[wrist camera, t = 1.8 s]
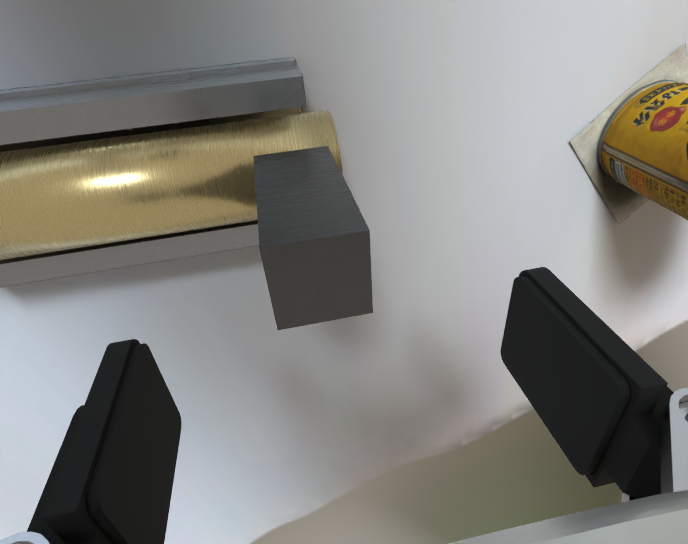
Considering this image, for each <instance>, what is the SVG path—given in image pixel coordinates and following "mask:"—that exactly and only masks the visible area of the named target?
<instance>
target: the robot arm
mask: <svg viewBox="0 0 688 544" xmlns="http://www.w3.org/2000/svg"><path fill="white" fill-rule="evenodd" d="M501 357H502V360H503V362H504V364H505V366H506V367H507V369H508V370H509V372H510V373H511V375H512V376H513V378H514V379H515V381H516V382H517V383H518V385H519V386H520V388H521V389H522V391H523V392H524V394H525V395H526V397H527V398H528V400H529V401H530V403H531V404H532V406H533V407H534V409H535V410H536V412H537V413H538V415H539V416H540V418H541V419H542V421H543V422H544V424H545V425H546V427H547V428H548V430H549V431H550V433H551V434H552V436H553V437H554V439H555V440H556V442H557V443H558V444H559V446H560V448H561V449H562V450H563V452H564V453H565V455H566V456H567V458H568V459H569V461H570V462H571V464H572V465H573V467H574V468H575V470H576V471H577V472H578V473H579V474H581V475H586V477H587V478H588V480H589V481H590V483H591V484H592V486H593V487H597V486H602V485H606V484H610V483H614V482H615V483H616V484H617V485H618V487H619V488H620V489H621V491H622V492H623V496H622V503H617V504H613V505H608V506H603V507H599V508H594V509H590V510H586V511H581V512H577V513H573V514H569V515H565V516H560V517H557V518H552V519H548V520H544V521H540V522H536V523H532V524H527V525H523V526H519V527H515V528H510V529H506V530H502V531H498V532H494V533H490V534H485V535H481V536H477V537H473V538H469V539H465V540H461V541H457V542H453V543H449V544H688V388H684V389H680V390H677V391H676V392H675V393H673V392H672V391H671V390H670V389H669V388H668V387H667V384H668V383H667V382H666V381H665V380H664V379H663V378H662V377H661V376H660V375H659V374H657V373H656V372H655V371H654V370H653V369H652V368H651V367H650V366H649V365H648V364H647V363H646V362H645V361H644V360H643V359H642V358H641V357H640V356H639V355H637V353H636V352H634V351H633V350H632V349H631V348H630V347H629V346H628V345H627V344H626V343H625V342H624V341H623V340H622V339H621V338H620V337H619V336H618V335H617V334H616V333H615V332H614V331H613V330H611V329H610V328H609V327H608V326H607V325H606V324H605V323H604V322H603V321H602V320H601V319H600V318H599V317H598V316H597V315H596V314H595V313H594V312H593V311H592V310H591V309H589V308H588V307H587V306H586V305H585V304H584V303H583V302H582V301H581V300H580V299H579V298H578V297H577V296H576V295H575V294H574V293H573V292H572V291H571V290H570V289H569V288H568V287H566V286H565V285H564V284H563V283H562V282H561V281H560V280H559V279H558V278H557V277H556V276H555V275H554V274H553V273H552V272H551V271H550V270H549V269H547V268H545V267H541V268H535V269H530V270H524V271H522V272H521V273H520V274H519V277H517V278H515V279H514V282H513V288H512V293H511V298H510V303H509V309H508V314H507V319H506V325H505V330H504V335H503V341H502V346H501ZM180 433H181V417H180V413H179V411H178V409H177V407H176V405H175V402H174V400H173V398H172V396H171V394H170V392H169V390H168V387H167V385H166V383H165V381H164V379H163V377H162V375H161V372H160V370H159V368H158V366H157V364H156V362H155V360H154V357H153V355H152V353H151V351H150V349H149V347H148V345H147V344H140V343H139V341H138V340H136V339H132V340H127V341H121V342H115V343H110V344H109V345H108V347H107V348H106V351H105V353H104V356H103V359H102V361H101V364H100V366H99V369H98V372H97V374H96V377H95V379H94V382H93V385H92V387H91V390H90V392H89V395H88V398H87V400H86V403H85V405H83V406H80V407H79V408H78V409H77V410H76V412H75V414H74V416H73V418H72V421H71V423H70V426H69V428H68V431H67V433H66V436H65V438H64V441H63V443H62V446H61V448H60V450H59V453H58V455H57V458H56V460H55V463H54V465H53V468H52V470H51V473H50V475H49V478H48V480H47V483H46V485H45V488H44V490H43V493H42V495H41V498H40V500H39V503H38V505H37V508H36V510H35V513H34V515H33V518H32V520H31V523H30V525H29V528H28V530H27V532H23V533H17V534H15V535H12V536H10V537H7V538H5V539H3V540H1V541H0V544H164V540H165V533H166V527H167V520H168V513H169V507H170V500H171V493H172V486H173V480H174V473H175V466H176V460H177V453H178V446H179V440H180Z"/></svg>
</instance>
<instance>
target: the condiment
mask: <svg viewBox="0 0 688 544" xmlns="http://www.w3.org/2000/svg"><path fill="white" fill-rule="evenodd" d="M685 46H686V44H683V45H682V46H681V47H679V48H678V49H677V50H676V51H675V52H673V53H672V54H671V55H670V56H669V57H668V58H667V59H665V60H663V61H662V62H661V63H660V64H659V65H658V66H657V67H655V68H654V69H652V70H651V71H650V72H649V73H648V74H646V75H645V76H644V77H643V78H641V79H640V80H639V81H638V82H637V83H636V84H634V85H633V86H632V87H631V88H629V89H628V90H627V91H626V92H625V93H624V94H623V95H622V96H620V97H619V98H618V99H617V100H616V101H614V102H613V103H612V104H611V105H610V106H609V107H607V108H606V109H605V110H604V111H603V112H602V113H601V114H600V115H599V116H598V117H596V118H595V119H594V121H593V122H592V123H590V124H589V125H588V126H587V127H586V128H584V129H583V130H582V131H581V132H580V133H579V134H577V135H576V136H575V137H574V138H572V139H571V140H570V143H571V144H572V146H573V148H574V150H575V151H576V153H577V155H578V157H579V159H580V160H581V162H582V164H583V165H584V167H585V169H586V171H587V173H588V174H589V176H590V177H591V179H592V181H593V182H594V184H595V185H596V187H597V189H598V190H599V191H600V193H601V195H602V197H603V199H604V200H605V202H606V204H607V206H608V208H609V209H610V211H611V212H612V213H613V215H614V217H615V219H616V220H617V222H618V224H620V223H621V222H622V221H623V220H624V219H626V218H627V217H628V216H629V215H630V213H631V212H633V211H634V210H636V209H637V208H638V207H639V206H641V205H642V204H643V203H645V202H646V201H647V200H648V199H651V200H653V201H654V202H656V203H658V204H659V205H661V206H663V207H665V208H667V209H669V210H671V211H673V212H674V213H676V214H678V215H680V216H682V217H683V218H685V219H686V220H688V55H687V52H686V47H685ZM616 181H618V182H616Z"/></svg>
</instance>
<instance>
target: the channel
mask: <svg viewBox="0 0 688 544" xmlns="http://www.w3.org/2000/svg"><path fill="white" fill-rule="evenodd" d="M305 106H306V100H305V91H304V83H303V76H302V74H301V72H300V70H299V69H298V67H297V65H296V60H295V58H294V57H292V58H283V59H274V60H265V61H256V62H248V63H239V64H230V65H221V66H212V67H203V68H194V69H186V70H177V71H168V72H159V73H150V74H141V75H132V76H124V77H115V78H106V79H97V80H88V81H79V82H70V83H61V84H53V85H44V86H35V87H26V88H17V89H8V90H0V152H4V151H12V150H20V149H28V148H36V147H43V146H51V145H59V144H67V143H75V142H82V141H90V140H98V139H106V138H114V137H121V136H129V135H137V134H145V133H153V132H160V131H168V130H176V129H184V128H192V127H199V126H207V125H215V124H223V123H231V122H238V121H246V120H254V119H262V118H269V117H277V116H285V115H293V114H301V113H302V107H305ZM258 245H259V232H258V220H254V221H248V222H241V223H235V224H228V225H222V226H215V227H209V228H203V229H196V230H190V231H183V232H177V233H170V234H164V235H158V236H151V237H145V238H138V239H132V240H125V241H119V242H113V243H106V244H100V245H93V246H87V247H80V248H74V249H67V250H61V251H55V252H48V253H42V254H35V255H29V256H22V257H16V258H10V259H3V260H0V287H5V286H11V285H18V284H24V283H30V282H36V281H42V280H48V279H54V278H61V277H67V276H73V275H79V274H85V273H91V272H98V271H104V270H110V269H116V268H122V267H128V266H135V265H141V264H147V263H153V262H159V261H165V260H172V259H178V258H184V257H190V256H196V255H202V254H209V253H215V252H221V251H227V250H233V249H239V248H246V247H252V246H258Z"/></svg>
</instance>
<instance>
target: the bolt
mask: <svg viewBox="0 0 688 544" xmlns="http://www.w3.org/2000/svg"><path fill="white" fill-rule="evenodd" d="M254 220H258V232H259V248H260V252H261V257H262V261H263V266H264V270H265V275H266V279H267V284H268V288H269V293H270V297H271V302H272V306H273V311H274V315H275V320H276V324H277V329H278V330H282V329H287V328H292V327H298V326H303V325H308V324H314V323H319V322H325V321H330V320H335V319H341V318H346V317H351V316H357V315H362V314H368V313H373V306H372V281H371V257H370V233H369V228H368V226H367V224H366V222H365V220H364V218H363V216H362V214H361V212H360V210H359V208H358V206H357V204H356V202H355V200H354V198H353V196H352V194H351V192H350V190H349V188H348V186H347V184H346V182H345V180H344V177H343V175H342V167H341V159H340V152H339V146H338V140H337V135H336V131H335V126H334V123H333V119H332V116H331V114H330V112H329V111H328V110H324V111H316V112H308V113H301V114H293V115H285V116H277V117H269V118H262V119H254V120H246V121H238V122H231V123H223V124H215V125H207V126H199V127H192V128H184V129H176V130H168V131H160V132H153V133H145V134H137V135H129V136H121V137H114V138H106V139H98V140H90V141H82V142H75V143H67V144H59V145H51V146H43V147H36V148H28V149H20V150H12V151H4V152H0V260H3V259H10V258H16V257H22V256H29V255H35V254H42V253H48V252H55V251H61V250H67V249H74V248H80V247H87V246H93V245H100V244H106V243H113V242H119V241H125V240H132V239H138V238H145V237H151V236H158V235H164V234H170V233H177V232H183V231H190V230H196V229H203V228H209V227H215V226H222V225H228V224H235V223H241V222H248V221H254Z"/></svg>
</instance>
